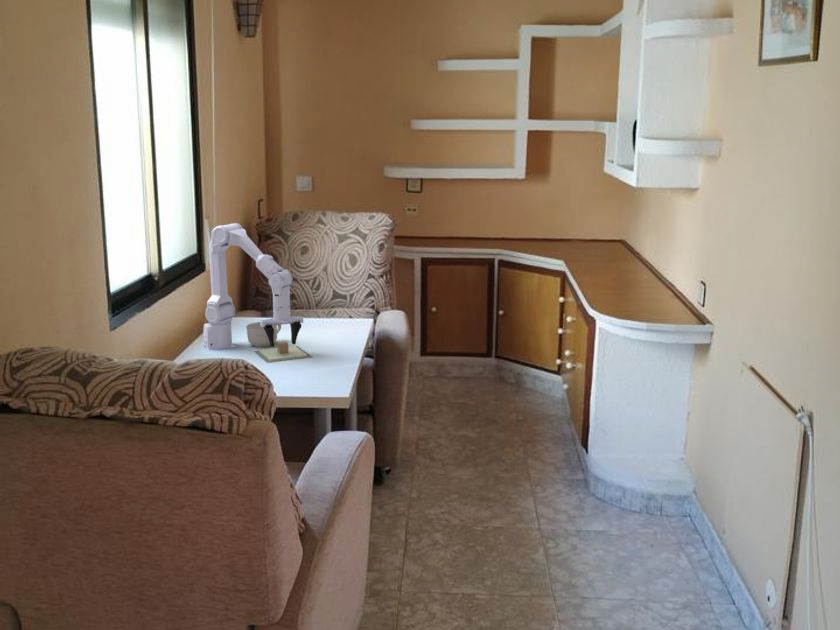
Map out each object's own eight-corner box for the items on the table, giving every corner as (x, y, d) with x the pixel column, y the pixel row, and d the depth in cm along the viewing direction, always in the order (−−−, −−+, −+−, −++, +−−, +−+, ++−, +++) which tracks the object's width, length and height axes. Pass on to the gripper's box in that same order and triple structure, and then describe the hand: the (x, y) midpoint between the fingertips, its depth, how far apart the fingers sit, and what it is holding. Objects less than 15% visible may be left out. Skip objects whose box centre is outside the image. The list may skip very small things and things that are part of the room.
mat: (267, 363, 278) (267, 362, 278) (253, 352, 292) (253, 351, 292) (313, 358, 285) (313, 357, 285) (297, 347, 299) (297, 346, 299)
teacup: (256, 351, 294) (255, 328, 292) (241, 344, 302) (240, 323, 300) (290, 344, 303) (290, 323, 301) (275, 338, 311) (275, 317, 309)
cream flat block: (270, 361, 280) (269, 349, 279) (258, 351, 291) (258, 340, 291) (307, 356, 286) (307, 344, 285) (294, 347, 297) (294, 336, 296)
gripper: (264, 310, 278) (265, 350, 281) (306, 306, 285) (307, 345, 288) (258, 306, 284) (259, 345, 287) (299, 302, 291) (300, 340, 294)
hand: (282, 345), depth 288 cm, fingers open, 7 cm apart
